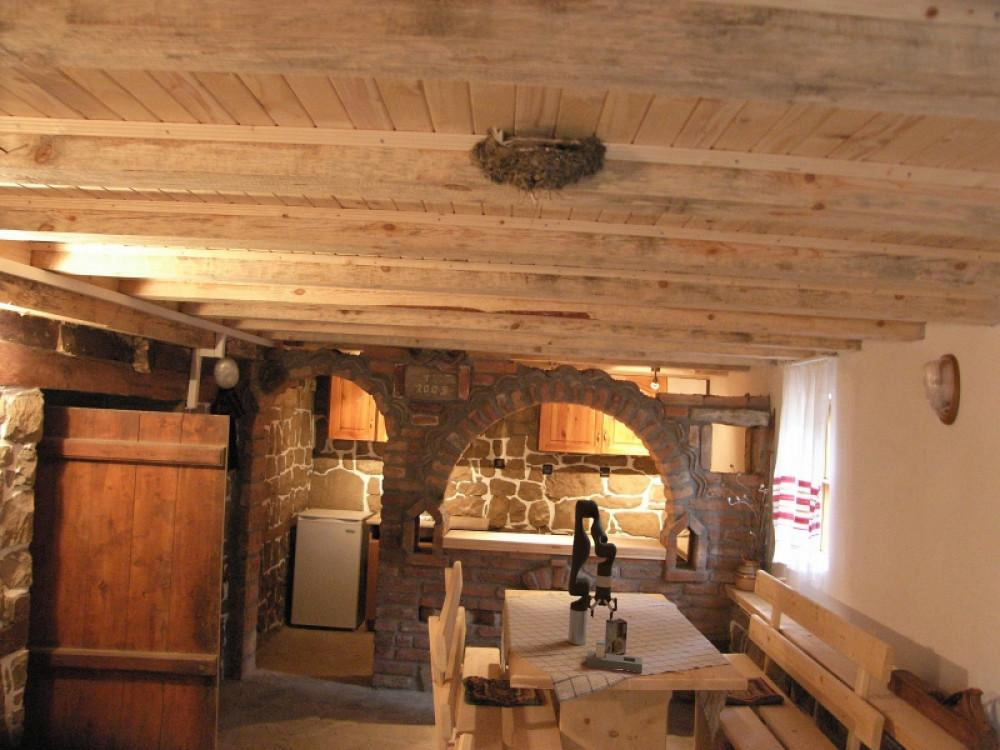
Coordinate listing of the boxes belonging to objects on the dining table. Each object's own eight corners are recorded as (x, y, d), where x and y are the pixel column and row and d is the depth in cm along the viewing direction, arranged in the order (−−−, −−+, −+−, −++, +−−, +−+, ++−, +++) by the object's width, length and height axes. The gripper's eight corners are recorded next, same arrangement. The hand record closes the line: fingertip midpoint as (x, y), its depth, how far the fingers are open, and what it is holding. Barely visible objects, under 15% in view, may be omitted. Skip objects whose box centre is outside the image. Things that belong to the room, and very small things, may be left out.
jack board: (587, 659, 371) (588, 651, 372) (641, 666, 367) (641, 657, 367) (586, 666, 362) (586, 657, 362) (641, 673, 357) (642, 664, 357)
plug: (595, 662, 368) (596, 640, 368) (603, 663, 367) (605, 641, 367) (595, 665, 364) (596, 642, 364) (603, 666, 363) (604, 643, 364)
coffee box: (618, 649, 390) (620, 617, 390) (626, 653, 384) (628, 621, 385) (603, 651, 386) (605, 619, 386) (611, 655, 380) (613, 622, 381)
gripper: (618, 584, 369) (616, 617, 369) (589, 581, 372) (587, 614, 371) (618, 588, 362) (616, 622, 361) (588, 584, 364) (586, 618, 364)
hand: (601, 618), depth 366 cm, fingers open, 8 cm apart
